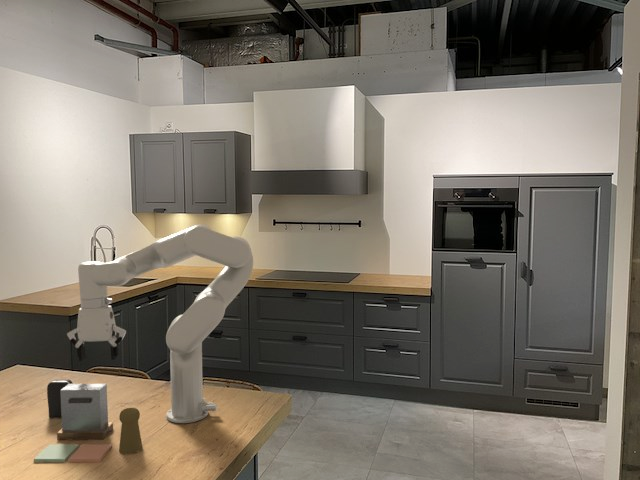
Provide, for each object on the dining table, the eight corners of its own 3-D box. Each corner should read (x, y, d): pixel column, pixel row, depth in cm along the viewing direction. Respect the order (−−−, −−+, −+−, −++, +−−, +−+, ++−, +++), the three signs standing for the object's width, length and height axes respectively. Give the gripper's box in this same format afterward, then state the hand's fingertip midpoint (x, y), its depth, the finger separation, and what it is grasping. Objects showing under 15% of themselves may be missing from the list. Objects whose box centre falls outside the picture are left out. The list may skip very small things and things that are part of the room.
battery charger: (75, 413, 170) (74, 377, 169) (70, 418, 166) (69, 382, 165) (53, 413, 170) (51, 378, 169) (47, 418, 166) (45, 382, 165)
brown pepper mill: (114, 448, 146) (113, 409, 145) (136, 441, 150) (135, 403, 149) (124, 456, 142) (123, 416, 141) (146, 449, 146) (145, 409, 145)
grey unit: (113, 428, 158) (111, 382, 157) (103, 439, 151) (101, 391, 150) (68, 429, 158) (66, 382, 157) (57, 439, 151) (55, 391, 150)
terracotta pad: (111, 447, 147) (111, 444, 147) (99, 461, 139) (99, 458, 139) (82, 447, 147) (82, 444, 147) (68, 461, 139) (68, 458, 139)
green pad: (78, 447, 147) (78, 444, 147) (64, 461, 139) (64, 458, 139) (49, 447, 147) (49, 444, 147) (33, 462, 139) (33, 459, 139)
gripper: (127, 299, 165) (131, 354, 166) (71, 301, 165) (75, 356, 166) (118, 304, 157) (122, 362, 159) (59, 306, 157) (64, 364, 159)
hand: (98, 359), depth 162 cm, fingers open, 9 cm apart
